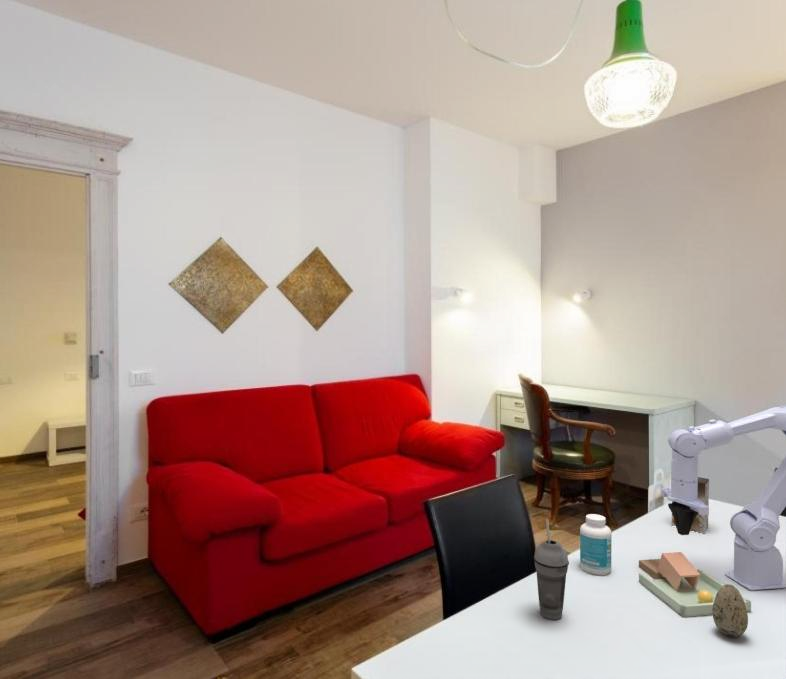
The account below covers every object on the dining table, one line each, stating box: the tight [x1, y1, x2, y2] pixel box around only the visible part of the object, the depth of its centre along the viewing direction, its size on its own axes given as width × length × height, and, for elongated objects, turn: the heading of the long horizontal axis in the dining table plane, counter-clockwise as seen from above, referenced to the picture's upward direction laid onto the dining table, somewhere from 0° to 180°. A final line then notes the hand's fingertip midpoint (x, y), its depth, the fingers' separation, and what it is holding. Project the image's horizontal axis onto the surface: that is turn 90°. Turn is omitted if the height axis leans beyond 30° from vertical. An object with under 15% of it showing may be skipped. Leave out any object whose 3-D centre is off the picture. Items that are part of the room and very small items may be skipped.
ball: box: [697, 590, 713, 603], centre depth 113 cm, size 3×3×3 cm
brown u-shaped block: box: [658, 551, 700, 591], centre depth 122 cm, size 5×5×7 cm
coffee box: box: [671, 476, 710, 535], centre depth 157 cm, size 9×6×16 cm
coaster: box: [638, 558, 684, 580], centre depth 129 cm, size 7×7×2 cm
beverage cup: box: [533, 518, 570, 620], centre depth 111 cm, size 7×7×20 cm
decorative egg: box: [712, 583, 749, 638], centre depth 103 cm, size 6×6×10 cm
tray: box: [638, 568, 752, 618], centre depth 118 cm, size 16×16×2 cm
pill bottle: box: [579, 513, 612, 576], centre depth 131 cm, size 8×7×14 cm
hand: (683, 534), depth 128 cm, fingers closed
